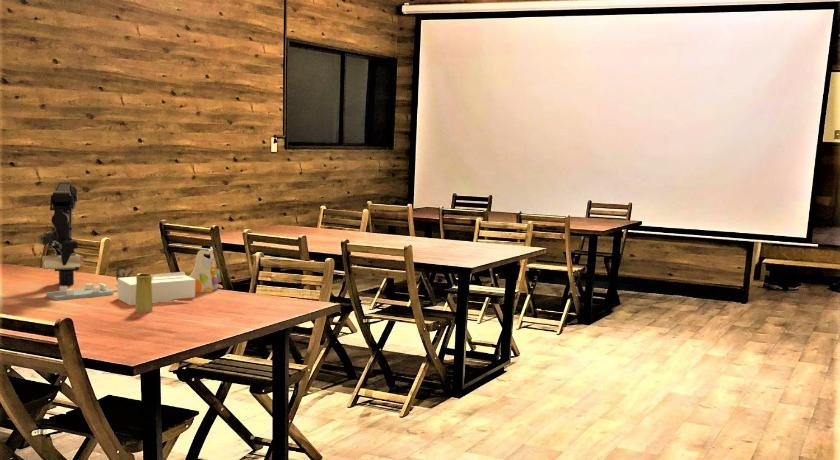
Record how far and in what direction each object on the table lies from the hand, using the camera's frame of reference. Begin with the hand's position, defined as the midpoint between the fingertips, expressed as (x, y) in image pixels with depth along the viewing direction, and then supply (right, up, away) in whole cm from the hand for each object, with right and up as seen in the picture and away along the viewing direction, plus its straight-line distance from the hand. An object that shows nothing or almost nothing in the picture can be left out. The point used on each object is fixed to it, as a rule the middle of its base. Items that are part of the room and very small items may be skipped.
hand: (62, 264), depth 338 cm
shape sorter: (+52, -12, +16) cm, 55 cm away
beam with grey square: (0, -1, 0) cm, 1 cm away
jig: (+8, -12, -2) cm, 14 cm away
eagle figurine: (+20, -11, +13) cm, 26 cm away
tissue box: (+38, -14, -4) cm, 40 cm away
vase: (+40, -17, -27) cm, 51 cm away
